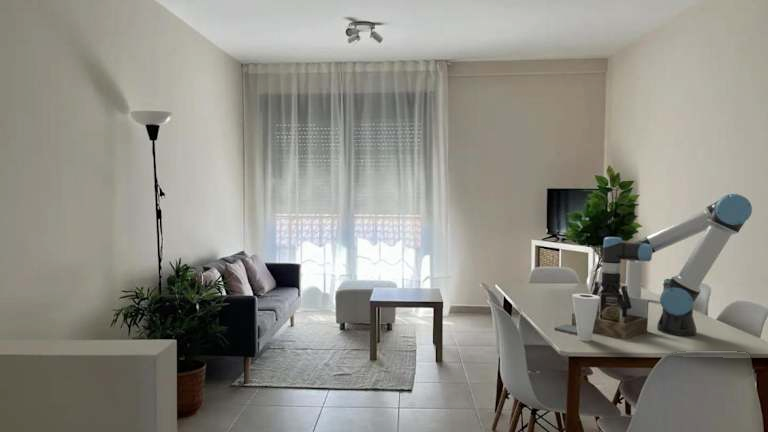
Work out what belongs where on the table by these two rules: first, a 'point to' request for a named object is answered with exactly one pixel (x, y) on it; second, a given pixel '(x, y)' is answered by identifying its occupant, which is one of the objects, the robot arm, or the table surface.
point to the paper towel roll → (634, 278)
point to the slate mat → (567, 329)
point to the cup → (585, 314)
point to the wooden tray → (619, 326)
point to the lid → (637, 307)
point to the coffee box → (609, 307)
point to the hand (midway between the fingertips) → (609, 321)
